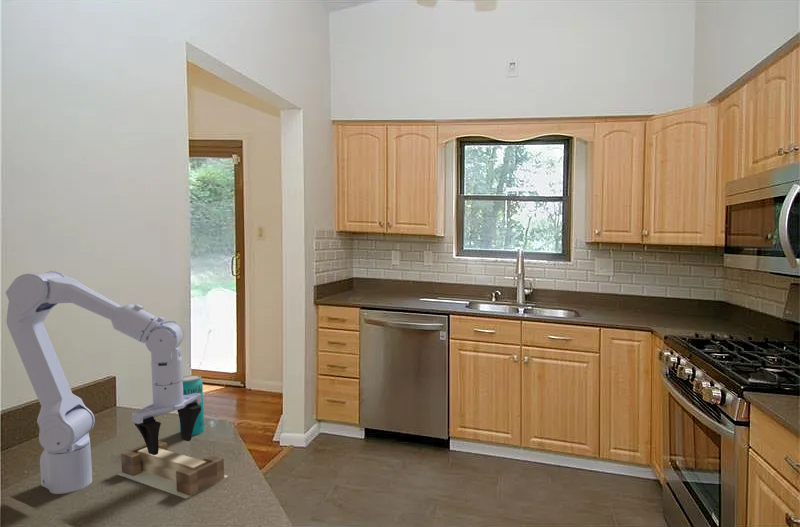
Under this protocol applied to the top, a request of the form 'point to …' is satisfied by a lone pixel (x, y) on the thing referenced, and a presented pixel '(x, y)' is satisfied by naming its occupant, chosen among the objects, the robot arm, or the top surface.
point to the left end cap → (135, 459)
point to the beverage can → (195, 386)
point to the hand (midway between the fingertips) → (170, 446)
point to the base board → (157, 482)
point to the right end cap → (200, 476)
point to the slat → (167, 463)
